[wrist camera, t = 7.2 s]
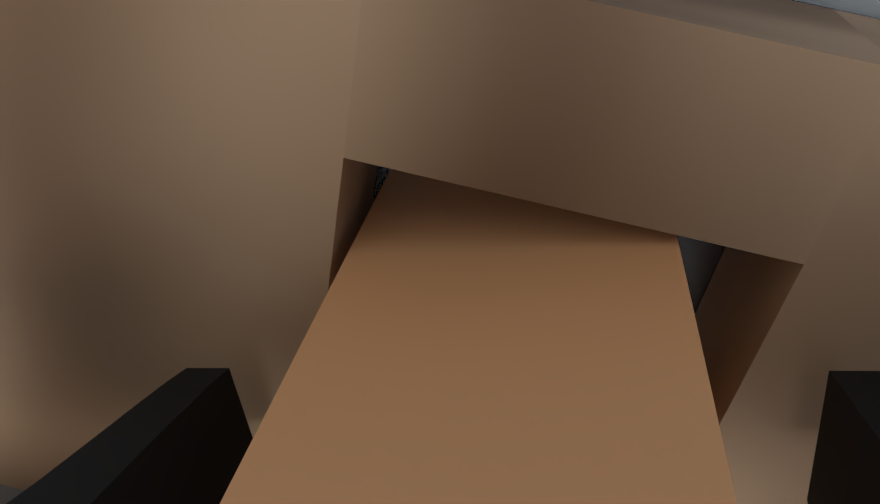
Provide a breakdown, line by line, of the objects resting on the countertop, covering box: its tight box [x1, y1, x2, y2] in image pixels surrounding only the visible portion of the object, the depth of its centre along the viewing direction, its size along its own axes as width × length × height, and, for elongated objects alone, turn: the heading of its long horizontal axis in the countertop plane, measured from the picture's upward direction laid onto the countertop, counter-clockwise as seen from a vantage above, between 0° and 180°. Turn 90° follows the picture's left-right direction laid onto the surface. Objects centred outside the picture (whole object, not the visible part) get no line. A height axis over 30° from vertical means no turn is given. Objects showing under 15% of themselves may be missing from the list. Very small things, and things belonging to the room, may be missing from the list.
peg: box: [220, 169, 737, 504], centre depth 9 cm, size 4×4×7 cm
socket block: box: [0, 0, 880, 504], centre depth 9 cm, size 18×11×7 cm, turn 80°
